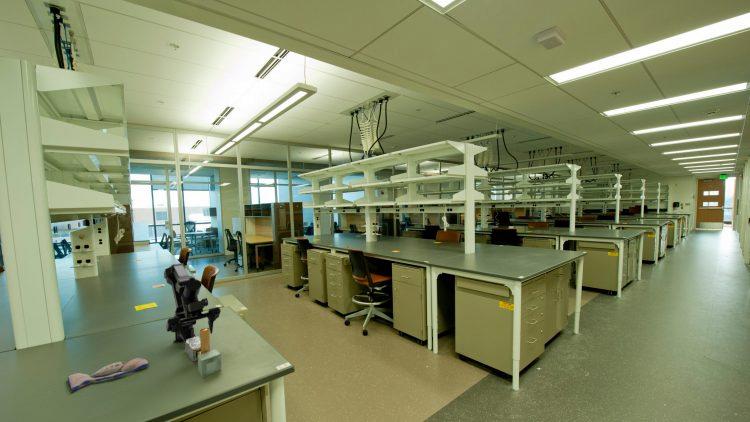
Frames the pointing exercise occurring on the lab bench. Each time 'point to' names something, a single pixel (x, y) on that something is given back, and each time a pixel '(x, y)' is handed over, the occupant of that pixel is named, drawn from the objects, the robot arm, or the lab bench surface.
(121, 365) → the anatomical model
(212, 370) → the green socket
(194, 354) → the aluminium sleeve
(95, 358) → the lab bench surface
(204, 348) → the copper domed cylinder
